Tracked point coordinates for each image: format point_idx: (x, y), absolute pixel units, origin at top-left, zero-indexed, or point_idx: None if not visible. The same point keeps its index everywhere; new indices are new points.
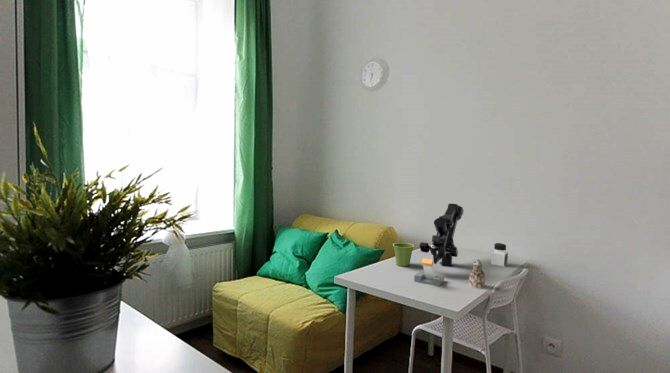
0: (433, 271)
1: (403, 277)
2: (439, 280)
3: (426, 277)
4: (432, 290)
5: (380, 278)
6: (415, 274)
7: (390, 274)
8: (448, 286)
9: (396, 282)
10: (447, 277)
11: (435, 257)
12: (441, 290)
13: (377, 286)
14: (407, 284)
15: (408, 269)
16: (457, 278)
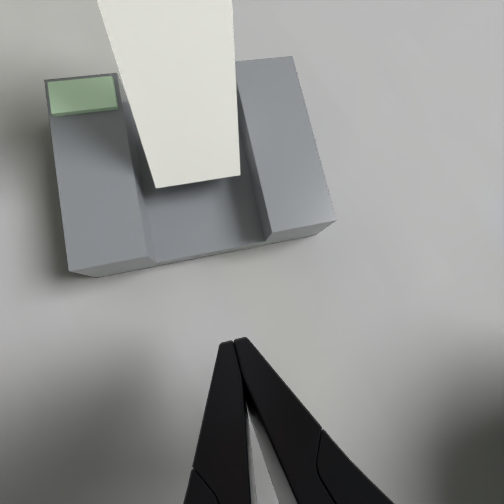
0: (134, 115)
1: (386, 123)
2: (47, 84)
3: (236, 191)
4: (78, 6)
5: (466, 9)
6: (298, 79)
7: (486, 121)
8: (4, 163)
9: (351, 4)
10: (113, 404)
11: (269, 444)
12: (19, 44)
13: None
14: (277, 12)
15: (492, 340)
16: (11, 460)
